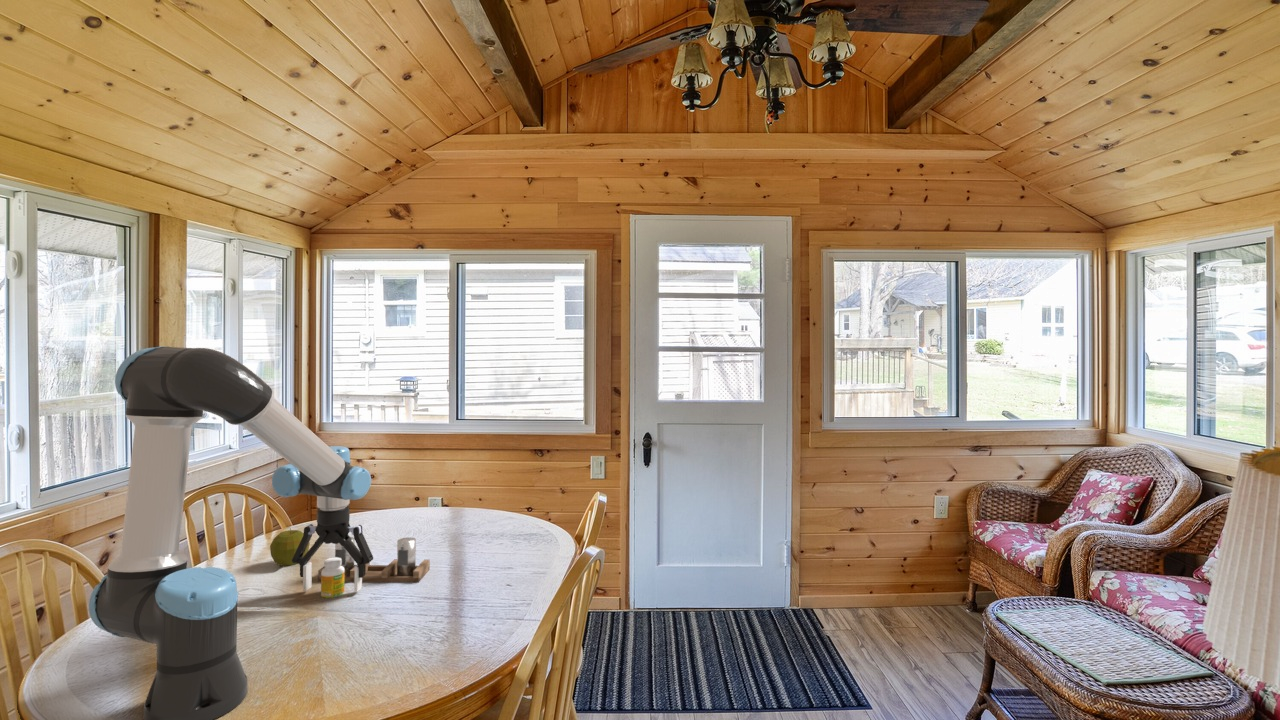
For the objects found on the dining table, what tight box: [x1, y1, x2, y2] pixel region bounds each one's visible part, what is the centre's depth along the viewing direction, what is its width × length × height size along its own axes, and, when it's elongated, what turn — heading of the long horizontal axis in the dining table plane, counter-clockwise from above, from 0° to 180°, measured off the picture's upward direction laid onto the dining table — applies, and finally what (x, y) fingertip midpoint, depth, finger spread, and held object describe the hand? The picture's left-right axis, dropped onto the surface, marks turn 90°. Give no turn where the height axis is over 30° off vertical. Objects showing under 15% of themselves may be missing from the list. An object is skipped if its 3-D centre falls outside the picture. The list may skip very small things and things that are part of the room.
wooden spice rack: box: [317, 558, 431, 583], centre depth 166 cm, size 9×27×4 cm, turn 92°
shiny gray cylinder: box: [334, 536, 356, 576], centre depth 165 cm, size 5×5×10 cm
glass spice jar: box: [396, 537, 417, 576], centre depth 166 cm, size 5×5×10 cm
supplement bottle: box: [320, 556, 345, 599], centre depth 154 cm, size 5×5×10 cm
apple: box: [269, 528, 311, 567], centre depth 175 cm, size 10×10×11 cm
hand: (332, 589), depth 154 cm, fingers open, 12 cm apart
